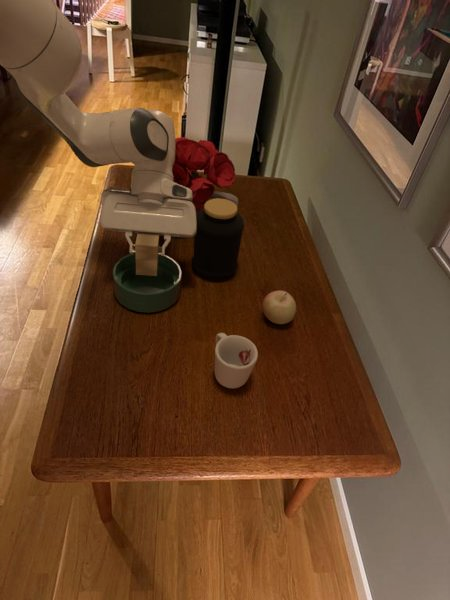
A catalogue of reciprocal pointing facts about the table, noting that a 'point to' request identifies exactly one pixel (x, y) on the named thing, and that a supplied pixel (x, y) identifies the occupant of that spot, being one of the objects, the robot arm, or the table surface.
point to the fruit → (279, 307)
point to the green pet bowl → (146, 285)
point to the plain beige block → (147, 254)
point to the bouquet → (201, 158)
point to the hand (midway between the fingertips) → (147, 254)
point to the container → (217, 238)
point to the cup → (234, 360)
